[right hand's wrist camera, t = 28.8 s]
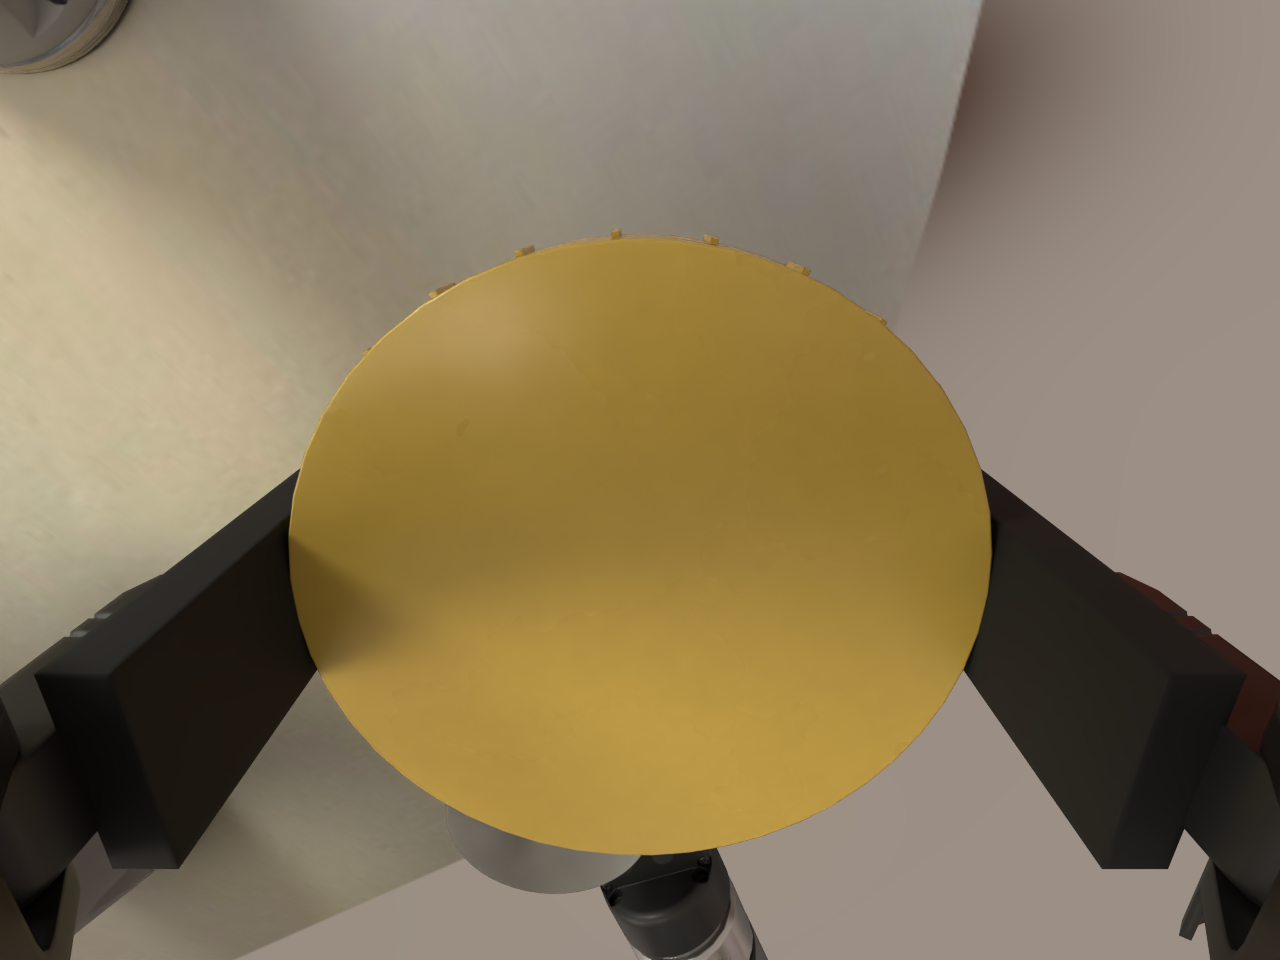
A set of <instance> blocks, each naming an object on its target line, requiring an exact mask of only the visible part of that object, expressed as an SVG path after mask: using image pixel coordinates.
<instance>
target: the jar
mask: <svg viewBox="0 0 1280 960" xmlns="http://www.w3.org/2000/svg"><path fill="white" fill-rule="evenodd" d="M445 804H446V803H445ZM446 821H447V825H448V830H449V833H450V835H451V838H452V840H453V842H454V844H455V846H456V847H457V849H458V850H459V852H460V853H461V854H462V855H463V857H464V858H465V859H466V860H467V861H468V862H469V863H470V864H471V865H472V866H474V867H475V868H476V869H478V870H479V871H480V872H482V873H483V874H485V875H486V876H488V877H490V878H491V879H493V880H496V881H498V882H500V883H502V884H505V885H508V886H510V887H513V888H517V889H520V890H524V891H530V892H537V893H547V894H563V893H572V892H579V891H584V890H588V889H592V888H595V887H598V886H601V885H603V884H605V883H608V882H610V881H612V880H614V879H615V878H617V877H619V876H620V875H622V874H623V873H624V872H626V871H627V870H628V869H630V868H631V867H632V866H633V865H634V864H635V863H636V862H637V861H638V859H639V858H640V857H641V855H616V854H605V853H597V852H588V851H579V850H573V849H568V848H563V847H559V846H554V845H549V844H545V843H540V842H536V841H533V840H530V839H527V838H524V837H521V836H517V835H514V834H511V833H508V832H505V831H502V830H500V829H497V828H495V827H493V826H490V825H488V824H486V823H483V822H481V821H479V820H476V819H474V818H472V817H469V816H467V815H465V814H464V813H462V812H460V811H458V810H456V809H455V808H453V807H451V806H449V805H447V804H446Z"/></svg>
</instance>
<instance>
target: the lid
mask: <svg viewBox="0 0 1280 960" xmlns="http://www.w3.org/2000/svg"><path fill="white" fill-rule="evenodd" d="M718 241H719V239H718V238H716V237H714V236H711V235H707V234H704V236H703V240H697V239H691V238H685V237H679V236H673V235H635V234H623V235H622V231H621V229H614V230H613V231H612V232H611V236H605V237H597V238H588V239H579V240H574V241H571V242H567V243H563V244H559V245H555V246H551V247H547V248H543V249H540V250H536V251H535V249H534V246H533V245H531V246H528V247H525V248H523V249H520V250H517V251H515V252H514V253H515V256H516V258H515V259H513V260H510V261H508V262H505V263H503V264H501V265H498V266H496V267H493V268H491V269H489V270H486V271H484V272H481V273H479V274H476V275H474V276H472V277H469V278H467V279H465V280H463V281H461V282H460V283H458V284H456V283H452V284H449V285H447V286H445V287H442V288H440V289H437V290H435V291H433V292H432V293H430V294H429V295H430V297H431V298H432V299H431V300H429V301H428V302H426V303H424V304H423V305H421V306H420V307H418V308H417V309H416V310H415V311H413V312H412V313H411V314H410V315H409V316H407V317H406V318H405V319H404V320H402V321H401V322H400V323H399V324H398V325H396V326H395V327H394V328H393V329H391V330H390V331H389V332H388V333H387V334H385V335H384V336H383V337H382V338H381V339H380V340H379V341H378V342H377V343H376V344H375V345H374V346H373V347H371V348H369V349H367V350H366V351H365V352H364V353H363V356H364V357H363V359H362V360H361V361H360V362H359V363H358V364H357V365H356V366H355V367H354V368H353V370H352V371H351V372H350V373H349V374H348V376H347V377H346V379H345V380H344V382H343V383H342V385H341V386H340V388H339V389H338V391H337V392H336V394H335V395H334V397H333V398H332V400H331V402H330V403H329V405H328V406H327V408H326V409H325V411H324V412H323V414H322V416H321V419H320V421H319V423H318V425H317V427H316V430H315V432H314V434H313V436H312V438H311V441H310V443H309V445H308V447H307V449H306V452H305V454H304V458H303V461H302V465H301V469H300V472H299V476H298V479H297V483H296V487H295V490H294V494H293V501H292V510H291V519H290V527H289V536H288V542H289V567H290V581H291V587H292V592H293V596H294V601H295V606H296V610H297V615H298V619H299V623H300V627H301V629H302V632H303V635H304V638H305V641H306V644H307V647H308V650H309V653H310V655H311V657H312V659H313V661H314V663H315V665H316V667H317V669H318V671H319V673H320V675H321V677H322V679H323V681H324V683H325V685H326V687H327V689H328V690H329V692H330V693H331V695H332V696H333V698H334V699H335V701H336V702H337V704H338V705H339V706H340V708H341V709H342V711H343V712H344V714H345V715H346V717H347V718H348V720H349V721H350V722H351V723H352V725H353V726H354V727H355V728H356V729H357V730H358V731H359V732H360V734H361V735H362V736H363V737H364V738H365V739H366V740H367V741H368V743H369V744H370V745H371V746H372V747H373V748H374V749H375V750H376V751H377V752H378V753H379V754H380V755H381V756H382V757H384V758H385V759H386V760H387V761H388V762H389V763H390V764H391V765H392V766H394V767H395V768H396V769H397V770H398V771H399V772H400V773H401V774H403V775H404V776H405V777H407V778H408V779H409V780H411V781H412V782H414V783H415V784H416V785H418V786H419V787H421V788H422V789H424V790H425V791H426V792H428V793H429V794H431V795H432V796H433V797H435V798H437V799H438V800H440V801H442V802H444V803H446V804H447V805H449V806H451V807H453V808H455V809H456V810H458V811H460V812H462V813H464V814H465V815H467V816H469V817H472V818H474V819H476V820H479V821H481V822H483V823H486V824H488V825H490V826H493V827H495V828H497V829H500V830H502V831H505V832H508V833H511V834H514V835H517V836H521V837H524V838H527V839H530V840H533V841H536V842H540V843H545V844H549V845H554V846H559V847H563V848H568V849H573V850H579V851H588V852H597V853H605V854H616V855H661V854H674V853H687V852H694V851H700V850H706V849H712V848H717V847H723V846H728V845H732V844H736V843H739V842H743V841H747V840H750V839H754V838H757V837H761V836H765V835H767V834H770V833H772V832H775V831H777V830H780V829H783V828H785V827H788V826H790V825H793V824H796V823H798V822H801V821H803V820H805V819H807V818H808V817H810V816H812V815H814V814H816V813H818V812H820V811H822V810H824V809H826V808H828V807H830V806H832V805H834V804H836V803H837V802H839V801H840V800H842V799H843V798H845V797H846V796H848V795H849V794H851V793H853V792H854V791H856V790H857V789H859V788H860V787H862V786H863V785H865V784H866V783H867V782H869V781H870V780H871V779H872V778H874V777H875V776H876V775H877V774H878V773H880V772H881V771H882V770H883V769H885V768H886V767H887V766H888V765H890V764H891V763H892V762H893V761H894V760H895V759H896V758H897V757H898V756H899V755H900V754H901V753H902V752H903V751H904V750H905V749H906V748H907V747H908V746H909V745H910V744H911V743H912V742H913V741H914V740H915V739H916V738H917V737H918V736H919V735H920V734H921V733H922V731H923V730H924V729H925V727H926V726H927V725H928V724H929V722H930V721H931V720H932V718H933V717H934V716H935V714H936V713H937V712H938V710H939V709H940V708H941V706H942V705H943V704H944V702H945V701H946V699H947V697H948V696H949V694H950V692H951V690H952V689H953V687H954V685H955V683H956V682H957V680H958V678H959V676H960V675H961V673H962V671H963V669H964V667H965V665H966V662H967V660H968V658H969V655H970V653H971V650H972V648H973V645H974V643H975V640H976V638H977V635H978V633H979V629H980V625H981V621H982V617H983V613H984V608H985V604H986V600H987V595H988V590H989V582H990V572H991V562H992V538H991V520H990V509H989V504H988V500H987V495H986V490H985V485H984V481H983V476H982V471H981V468H980V465H979V463H978V460H977V457H976V455H975V452H974V450H973V447H972V444H971V442H970V439H969V436H968V434H967V431H966V429H965V427H964V425H963V423H962V422H961V420H960V418H959V416H958V415H957V413H956V411H955V409H954V408H953V406H952V404H951V402H950V401H949V399H948V397H947V395H946V394H945V392H944V390H943V388H942V387H941V385H940V384H939V383H938V382H937V381H936V380H935V379H934V377H933V376H932V375H931V374H930V372H929V371H928V370H927V369H926V367H925V366H924V365H923V364H922V362H921V361H920V360H919V359H918V357H917V356H916V355H915V354H914V352H913V351H912V350H911V349H910V348H908V347H907V346H906V345H905V344H904V343H903V342H902V341H901V340H900V339H899V338H898V337H897V336H895V335H894V334H893V333H892V332H891V331H890V330H889V329H888V328H887V327H886V326H885V325H886V324H887V322H886V321H885V320H884V319H883V318H881V317H879V316H877V315H874V314H872V313H870V312H868V311H866V310H864V309H862V308H861V307H860V306H858V305H857V304H855V303H854V302H852V301H851V300H849V299H848V298H846V297H845V296H843V295H842V294H840V293H839V292H837V291H836V290H834V289H833V288H831V287H828V286H826V285H824V284H822V283H820V282H818V281H816V280H814V279H812V278H810V277H808V275H809V273H810V272H811V270H809V269H807V268H805V267H803V266H800V265H797V264H795V263H792V262H789V261H788V262H787V264H786V266H785V265H782V264H780V263H777V262H775V261H773V260H770V259H768V258H765V257H762V256H759V255H756V254H752V253H749V252H746V251H743V250H740V249H737V248H733V247H730V246H727V245H724V244H721V243H718Z"/></svg>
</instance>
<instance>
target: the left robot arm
mask: <svg viewBox="0 0 1280 960" xmlns="http://www.w3.org/2000/svg"><path fill="white" fill-rule="evenodd" d="M72 862H73V865H74V867H75V869H76V871H77V874H78V878H79V883H80V888H81V890H80V897H79V903H78V910H77V917H76V923H75V930H74V935H75V934H76V933H77V932H78V931H79V930H81V929H82V928H83V927H84V926H86V925H87V924H88V923H90V922H91V921H92V920H93V919H95V918H96V917H97V916H98V915H100V914H101V913H102V912H103V911H105V910H106V909H107V908H108V907H110V906H111V905H112V904H114V903H115V902H116V901H117V900H119V899H120V898H121V897H122V896H124V895H125V894H126V893H127V892H129V891H130V890H131V889H132V888H134V887H135V886H136V885H138V884H139V883H140V882H141V881H143V880H144V879H145V878H146V877H148V876H149V875H150V874H151V873H152V872H154V871H155V870H156V869H113V868H112V866H111V863H110V861H109V859H108V856H107V854H106V851H105V849H104V846H103V844H102V841H101V839H100V836H99V834H98V832H96V833H95V835H94V836H93V837H92V838H91V839H90V840H89V841H88V843H87V844H86V845H85V846H84V847H83V848H82V849H81V851H80V852H79V853H78V854H77V855H76V856H75V858H74V859H73V860H72ZM600 887H601V890H602V892H603V895H604V898H605V900H606V902H607V904H608V906H609V908H610V910H611V912H612V914H613V915H614V917H615V919H616V921H617V922H618V924H619V926H620V928H621V929H622V931H623V933H624V935H625V936H626V938H627V940H628V941H629V943H630V945H631V947H632V949H633V951H634V953H635V955H636V956H637V958H638V960H768V959H767V957H766V955H765V952H764V950H763V948H762V946H761V944H760V942H759V940H758V938H757V936H756V933H755V931H754V929H753V927H752V925H751V923H750V921H749V919H748V917H747V914H746V913H745V911H744V908H743V906H742V904H741V901H740V899H739V897H738V895H737V892H736V890H735V888H734V885H733V883H732V881H731V879H730V878H729V876H728V873H727V870H726V868H725V865H724V863H723V861H722V859H721V857H720V854H719V852H718V850H717V848H712V849H706V850H700V851H694V852H687V853H674V854H661V855H641V857H640V858H639V859H638V861H637V862H636V863H635V864H634V865H633V866H632V867H631V868H630V869H628V870H627V871H626V872H624V873H623V874H622V875H620V876H619V877H617V878H615V879H614V880H612V881H610V882H608V883H605V884H603V885H601V886H600Z"/></svg>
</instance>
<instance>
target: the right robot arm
mask: <svg viewBox="0 0 1280 960" xmlns="http://www.w3.org/2000/svg"><path fill="white" fill-rule="evenodd" d="M127 3H128V0H0V73H8V74H30V73H37V72H43V71H48V70H51V69H55V68H58V67H61V66H64V65H66V64H68V63H71V62H73V61H75V60H76V59H78V58H80V57H81V56H83V55H85V54H86V53H88V52H89V51H90V50H91V49H93V48H94V47H95V46H97V45H98V44H99V43H100V42H101V41H102V40H103V39H104V38H105V37H106V35H107V34H108V33H109V32H110V31H111V29H112V28H113V27H114V25H115V24H116V23H117V21H118V20H119V18H120V16H121V14H122V13H123V11H124V9H125V7H126V5H127ZM300 469H301V468H300ZM300 469H299V470H298V471H296V472H295V473H294V474H292V475H291V476H290V477H288V478H287V479H286V480H285V481H283V482H282V483H281V484H279V485H278V486H277V487H276V488H274V489H273V490H272V491H270V492H269V493H268V494H266V495H265V496H264V497H263V498H261V499H260V500H259V501H257V502H256V503H255V504H253V505H252V506H251V507H250V508H248V509H247V510H246V511H244V512H243V513H242V514H241V515H239V516H238V517H237V518H235V519H234V520H233V521H231V522H230V523H229V524H228V525H226V526H225V527H224V528H222V529H221V530H220V531H219V532H217V533H216V534H215V535H213V536H212V537H211V538H209V539H208V540H207V541H206V542H204V543H203V544H202V545H200V546H199V547H198V548H197V549H195V550H194V551H193V552H191V553H190V554H189V555H187V556H186V557H185V558H184V559H182V560H181V561H180V562H178V563H177V564H176V565H175V566H173V567H172V568H171V569H169V570H168V571H167V572H165V573H164V574H163V575H159V576H157V577H155V578H153V579H151V580H149V581H147V582H145V583H143V584H141V585H139V586H136V587H134V588H132V589H130V590H128V591H126V592H124V593H122V594H121V595H120V596H118V597H117V598H116V599H114V600H113V601H112V602H110V603H109V604H108V605H106V606H105V607H104V608H102V609H101V610H100V611H98V612H97V613H96V614H94V615H95V617H94V619H87V620H86V621H85V622H83V623H82V624H81V625H79V626H78V627H77V628H75V629H74V630H73V631H71V632H70V633H71V635H70V637H63V638H62V639H61V640H59V641H58V642H57V643H55V644H54V645H53V646H51V647H50V648H49V649H47V650H46V651H45V652H43V653H42V654H41V655H39V656H38V657H37V658H35V659H34V660H33V661H31V662H30V663H29V664H27V665H26V666H25V667H23V668H22V669H21V670H19V671H18V672H17V673H15V674H14V675H13V676H11V677H10V678H9V679H7V680H6V681H5V682H3V683H2V684H1V685H0V960H70V957H71V950H72V943H73V937H74V930H75V923H76V917H77V910H78V903H79V897H80V890H81V888H80V883H79V878H78V874H77V871H76V869H75V867H74V865H73V862H72V860H73V859H74V858H75V856H76V855H77V854H78V853H79V852H80V851H81V849H82V848H83V847H84V846H85V845H86V844H87V843H88V841H89V840H90V839H91V838H92V837H93V836H94V835H95V833H96V832H98V834H99V836H100V839H101V841H102V844H103V846H104V849H105V851H106V854H107V856H108V859H109V861H110V863H111V866H112V868H113V869H179V867H180V866H181V865H182V863H183V862H184V860H185V859H186V857H187V856H188V855H189V853H190V852H191V850H192V849H193V847H194V846H195V844H196V843H197V842H198V840H199V839H200V837H201V836H202V834H203V833H204V832H205V830H206V829H207V827H208V826H209V824H210V823H211V821H212V820H213V819H214V817H215V816H216V814H217V813H218V811H219V810H220V809H221V807H222V806H223V804H224V803H225V801H226V800H227V799H228V797H229V796H230V794H231V793H232V791H233V790H234V788H235V787H236V786H237V784H238V783H239V781H240V780H241V778H242V777H243V776H244V774H245V773H246V771H247V770H248V768H249V767H250V765H251V764H252V763H253V761H254V760H255V758H256V757H257V755H258V754H259V753H260V751H261V750H262V748H263V747H264V745H265V744H266V742H267V741H268V740H269V738H270V737H271V735H272V734H273V732H274V731H275V730H276V728H277V727H278V725H279V724H280V722H281V721H282V719H283V718H284V717H285V715H286V714H287V712H288V711H289V709H290V708H291V707H292V705H293V704H294V702H295V701H296V699H297V698H298V697H299V695H300V694H301V692H302V691H303V689H304V688H305V686H306V685H307V684H308V682H309V681H310V679H311V678H312V676H313V675H314V674H315V672H316V671H317V667H316V665H315V663H314V661H313V659H312V657H311V655H310V653H309V650H308V647H307V644H306V641H305V638H304V635H303V632H302V629H301V627H300V623H299V619H298V615H297V610H296V606H295V601H294V596H293V592H292V587H291V581H290V567H289V542H288V536H289V527H290V519H291V510H292V501H293V494H294V490H295V487H296V483H297V479H298V476H299V472H300ZM981 471H982V476H983V481H984V485H985V490H986V495H987V500H988V504H989V509H990V520H991V538H992V562H991V572H990V582H989V590H988V595H987V600H986V604H985V608H984V613H983V617H982V621H981V625H980V629H979V633H978V635H977V638H976V640H975V643H974V645H973V648H972V650H971V653H970V655H969V658H968V660H967V662H966V665H965V667H964V669H963V670H964V671H965V673H966V674H967V676H968V677H969V679H970V680H971V681H972V683H973V684H974V686H975V687H976V689H977V690H978V692H979V693H980V694H981V696H982V697H983V699H984V700H985V701H986V703H987V704H988V706H989V707H990V709H991V710H992V712H993V713H994V714H995V716H996V717H997V719H998V720H999V722H1000V723H1001V725H1002V726H1003V727H1004V729H1005V730H1006V732H1007V733H1008V735H1009V736H1010V737H1011V739H1012V740H1013V742H1014V743H1015V745H1016V746H1017V748H1018V749H1019V750H1020V752H1021V753H1022V755H1023V756H1024V758H1025V759H1026V760H1027V762H1028V763H1029V765H1030V766H1031V768H1032V769H1033V771H1034V772H1035V773H1036V775H1037V776H1038V778H1039V779H1040V781H1041V782H1042V783H1043V785H1044V786H1045V788H1046V789H1047V791H1048V792H1049V794H1050V795H1051V796H1052V798H1053V799H1054V801H1055V802H1056V804H1057V805H1058V806H1059V808H1060V809H1061V811H1062V812H1063V814H1064V815H1065V816H1066V818H1067V819H1068V821H1069V822H1070V824H1071V825H1072V826H1073V828H1074V829H1075V831H1076V832H1077V834H1078V835H1079V837H1080V838H1081V839H1082V841H1083V842H1084V844H1085V845H1086V847H1087V848H1088V850H1089V851H1090V852H1091V854H1092V855H1093V857H1094V858H1095V860H1096V861H1097V862H1098V864H1099V865H1100V867H1101V868H1102V869H1168V868H1169V865H1170V863H1171V860H1172V858H1173V855H1174V853H1175V850H1176V848H1177V845H1178V843H1179V840H1180V838H1181V836H1182V833H1183V831H1184V829H1185V830H1186V831H1187V832H1188V833H1189V835H1190V836H1191V837H1192V838H1193V839H1194V840H1195V841H1196V843H1197V844H1198V845H1199V846H1200V847H1201V848H1202V849H1203V851H1204V852H1205V853H1206V854H1207V855H1208V856H1209V857H1210V858H1209V860H1208V862H1207V865H1206V867H1205V869H1204V872H1203V874H1202V876H1201V878H1200V881H1199V883H1198V885H1197V888H1196V890H1195V892H1194V894H1193V897H1192V899H1191V901H1190V904H1189V906H1188V908H1187V911H1186V913H1185V915H1184V917H1183V920H1182V924H1181V928H1180V933H1179V936H1182V937H1184V938H1186V939H1189V940H1192V938H1193V936H1194V933H1195V931H1196V929H1197V927H1198V925H1200V924H1202V923H1205V927H1206V934H1207V941H1208V947H1209V954H1210V960H1280V680H1278V679H1277V678H1276V677H1274V676H1273V675H1272V674H1270V673H1269V672H1267V671H1266V670H1265V669H1264V668H1262V667H1261V666H1259V665H1258V664H1257V663H1255V662H1254V661H1253V660H1251V659H1250V658H1249V657H1247V656H1246V655H1245V654H1243V653H1242V652H1241V651H1239V650H1238V649H1237V648H1235V647H1234V646H1233V645H1231V644H1230V643H1228V642H1227V641H1226V640H1224V639H1223V638H1222V637H1220V636H1219V635H1218V634H1212V633H1211V629H1210V628H1208V627H1207V626H1206V625H1204V624H1203V623H1202V622H1200V621H1199V620H1197V619H1196V618H1195V617H1193V616H1187V611H1185V610H1184V609H1183V608H1181V607H1180V606H1179V605H1177V604H1176V603H1175V602H1173V601H1172V600H1170V599H1169V598H1168V597H1166V596H1165V595H1164V594H1162V593H1161V592H1160V591H1158V590H1156V589H1154V588H1152V587H1150V586H1148V585H1146V584H1144V583H1142V582H1139V581H1137V580H1135V579H1133V578H1131V577H1129V576H1127V575H1125V574H1122V573H1120V572H1114V571H1112V570H1111V569H1110V568H1109V567H1107V566H1106V565H1105V564H1103V563H1102V562H1101V561H1099V560H1098V559H1097V558H1096V557H1094V556H1093V555H1092V554H1090V553H1089V552H1088V551H1087V550H1085V549H1084V548H1083V547H1081V546H1080V545H1079V544H1078V543H1076V542H1075V541H1074V540H1072V539H1071V538H1070V537H1068V536H1067V535H1066V534H1065V533H1063V532H1062V531H1061V530H1059V529H1058V528H1057V527H1056V526H1054V525H1053V524H1052V523H1050V522H1049V521H1048V520H1046V519H1045V518H1044V517H1043V516H1041V515H1040V514H1039V513H1037V512H1036V511H1035V510H1033V509H1032V508H1031V507H1029V506H1028V505H1027V504H1026V503H1024V502H1023V501H1022V500H1021V499H1019V498H1018V497H1017V496H1015V495H1014V494H1013V493H1011V492H1010V491H1009V490H1008V489H1006V488H1005V487H1004V486H1002V485H1001V484H1000V483H999V482H997V481H996V480H995V479H993V478H992V477H991V476H989V475H988V474H987V473H986V472H984V471H983V470H982V469H981Z"/></svg>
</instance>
